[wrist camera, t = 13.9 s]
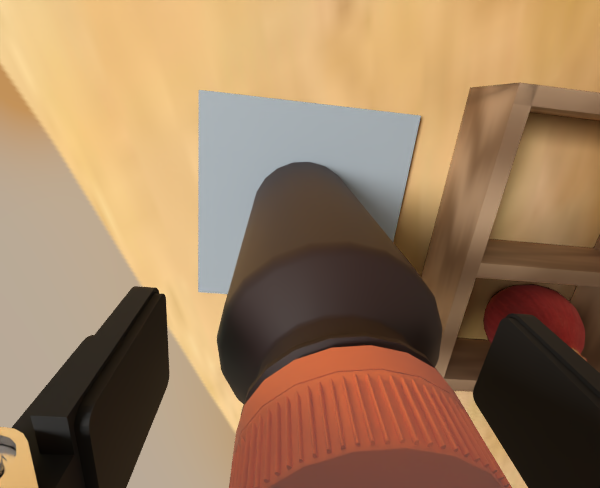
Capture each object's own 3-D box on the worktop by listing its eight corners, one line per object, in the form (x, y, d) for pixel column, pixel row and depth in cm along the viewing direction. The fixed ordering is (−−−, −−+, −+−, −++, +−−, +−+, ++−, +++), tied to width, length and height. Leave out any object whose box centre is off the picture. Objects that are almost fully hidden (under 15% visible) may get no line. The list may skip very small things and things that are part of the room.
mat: (200, 90, 22) (198, 89, 21) (418, 115, 23) (420, 115, 22) (199, 288, 27) (198, 291, 26) (378, 301, 28) (379, 304, 27)
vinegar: (234, 192, 24) (59, 516, 5) (322, 140, 23) (517, 304, 4) (284, 270, 26) (293, 688, 7) (366, 226, 25) (616, 580, 6)
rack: (470, 87, 22) (519, 82, 18) (668, 112, 23) (763, 113, 19) (403, 344, 29) (426, 389, 25) (557, 353, 31) (607, 398, 26)
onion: (497, 340, 30) (569, 417, 22) (450, 307, 28) (509, 378, 21) (550, 290, 28) (646, 355, 21) (502, 253, 27) (587, 309, 19)
